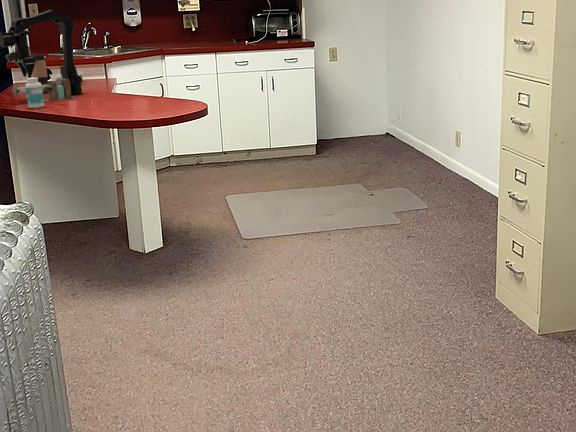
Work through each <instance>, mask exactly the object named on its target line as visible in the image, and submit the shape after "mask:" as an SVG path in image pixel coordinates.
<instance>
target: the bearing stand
mask: <svg viewBox="0 0 576 432" xmlns="http://www.w3.org/2000/svg"><path fill="white" fill-rule="evenodd" d="M60 81H61V86H63V89H64V97H65V98H63V99H59V97H58V90H57V86H58V83H57V81H54V82H53V81H51V80H50V81H49V80H48V81H47V82H48V84H51V89H52V90H49V93H48V95H49V97H48V98H46V97H45V98H44V103H49V102H58V101H59V102H61V101H67V100H68V101H69V100H75V99H76V97H74V96H73V95H71V88H70V81H69V80H68V81H66V80H65V79H64V80H60Z"/></svg>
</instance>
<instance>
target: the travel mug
mask: <svg viewBox="0 0 576 432" xmlns="http://www.w3.org/2000/svg"><path fill="white" fill-rule="evenodd" d="M31 57H34V58H35V59H36V63H35V66H34V69H33V72H32V78H38V82H39V83H41V84H42V85H45V84H48V82H47V81H49V77H48V70H47V63H46V57H45V55H44V54H33V55H31ZM44 94H49V90H47V91H43V95H44Z"/></svg>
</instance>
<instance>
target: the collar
mask: <svg viewBox="0 0 576 432" xmlns="http://www.w3.org/2000/svg"><path fill="white" fill-rule="evenodd" d="M57 90H58V97H59V99H63V98H65V97H64V89H63V86H61V85H59V84H57Z"/></svg>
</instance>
